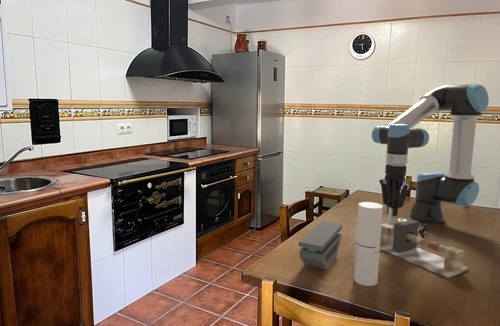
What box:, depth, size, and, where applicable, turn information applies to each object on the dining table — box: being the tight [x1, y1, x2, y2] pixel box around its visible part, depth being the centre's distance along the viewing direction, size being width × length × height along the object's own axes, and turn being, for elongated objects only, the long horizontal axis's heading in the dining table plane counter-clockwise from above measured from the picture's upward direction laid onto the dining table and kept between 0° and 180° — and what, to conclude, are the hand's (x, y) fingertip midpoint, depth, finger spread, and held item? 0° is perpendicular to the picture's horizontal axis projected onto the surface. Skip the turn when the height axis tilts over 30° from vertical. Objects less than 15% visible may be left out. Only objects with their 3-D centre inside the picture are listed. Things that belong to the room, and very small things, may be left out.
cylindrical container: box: [353, 201, 384, 287], centre depth 117 cm, size 7×7×25 cm
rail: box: [380, 222, 470, 279], centre depth 137 cm, size 32×12×8 cm, turn 31°
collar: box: [392, 219, 420, 253], centre depth 141 cm, size 3×10×10 cm, turn 121°
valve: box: [397, 218, 429, 240], centre depth 158 cm, size 7×7×12 cm
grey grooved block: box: [298, 220, 343, 271], centre depth 131 cm, size 25×8×11 cm, turn 151°
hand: (391, 223), depth 146 cm, fingers closed
